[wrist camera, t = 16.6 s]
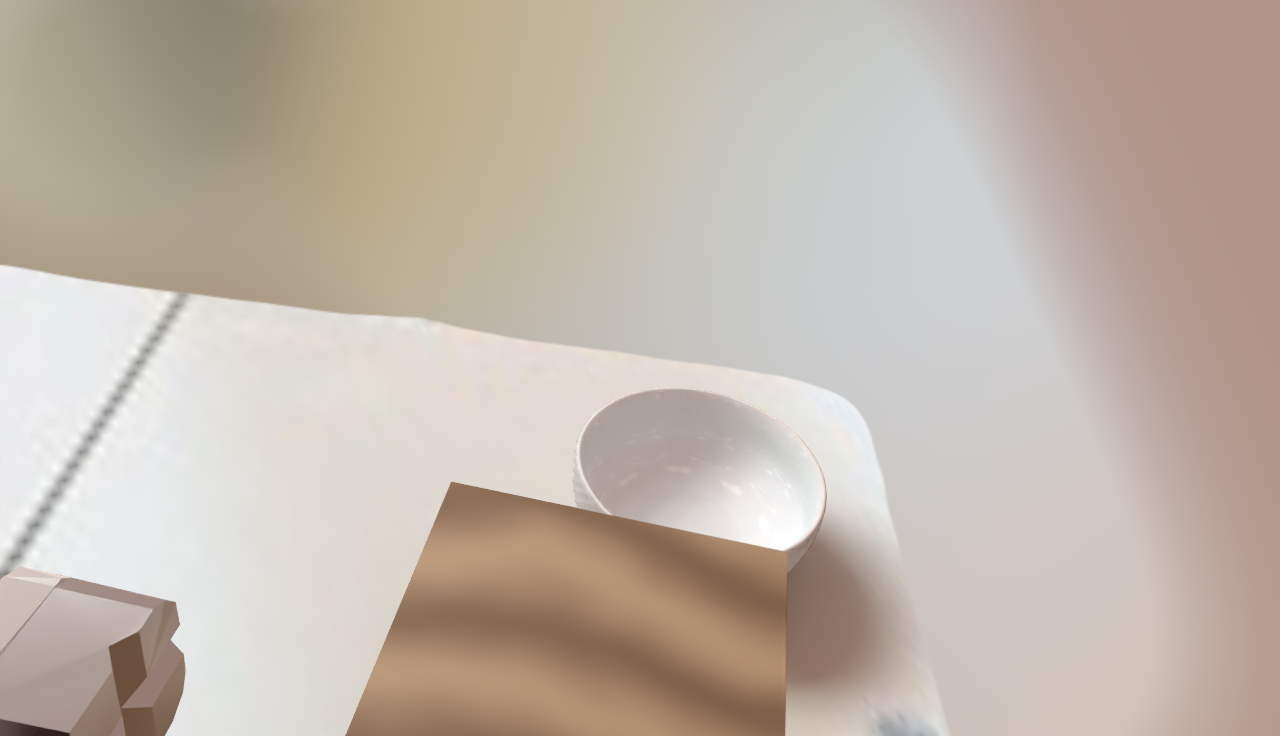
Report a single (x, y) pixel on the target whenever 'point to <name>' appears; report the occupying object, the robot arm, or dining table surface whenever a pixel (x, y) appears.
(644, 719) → the walnut shelf
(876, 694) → the dining table surface
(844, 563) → the dining table surface
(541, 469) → the dining table surface
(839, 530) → the dining table surface
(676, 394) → the cereal bowl
